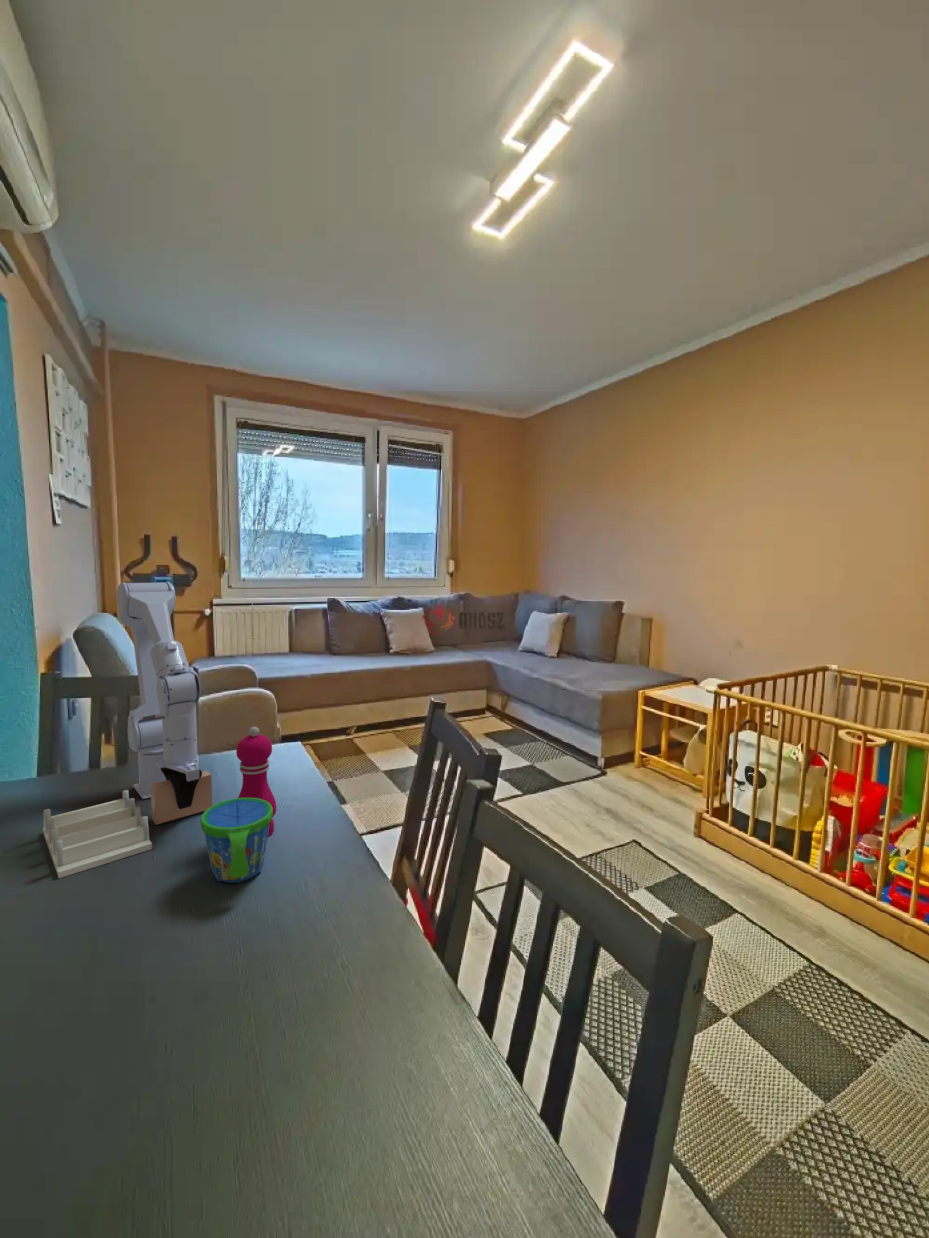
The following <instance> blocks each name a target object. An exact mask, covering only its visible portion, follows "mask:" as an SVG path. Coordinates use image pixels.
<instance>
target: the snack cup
mask: <svg viewBox="0 0 929 1238" xmlns="http://www.w3.org/2000/svg"><path fill="white" fill-rule="evenodd" d="M272 816H273V809H272V806H271V804H270V803H269V802H267V801H265V800H262V799H258V798H238V797H237V798H231V799H228V800H226V799H225V800H223V801H219V802H218V803H216V804H214V805H213V804H212V806H211V807H210V808H208V809H207V810H206V811H203V813H202V815H201V818H200V826H201V830H202V832H203V833H204V836H205V837H204V838H205V842H206V848H207V853H208V857H209V863H210V867H211V870H212V874H213V876H214V878H215V879H216V880H217V882H224V883H229V884H230V883H233V884H234V883H235V884H236V883H238V884H239V883H241V882H244V881H247V880H249V879H251V878H253V877H255V876H256V875H257V874H260V873H261V872H262V869H263V866H264V862H265V858H266V850H267V844H268V838H269V837H268V832H269V824H270V822H271V820H272V819H273V818H272ZM273 817H274V816H273Z"/></svg>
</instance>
